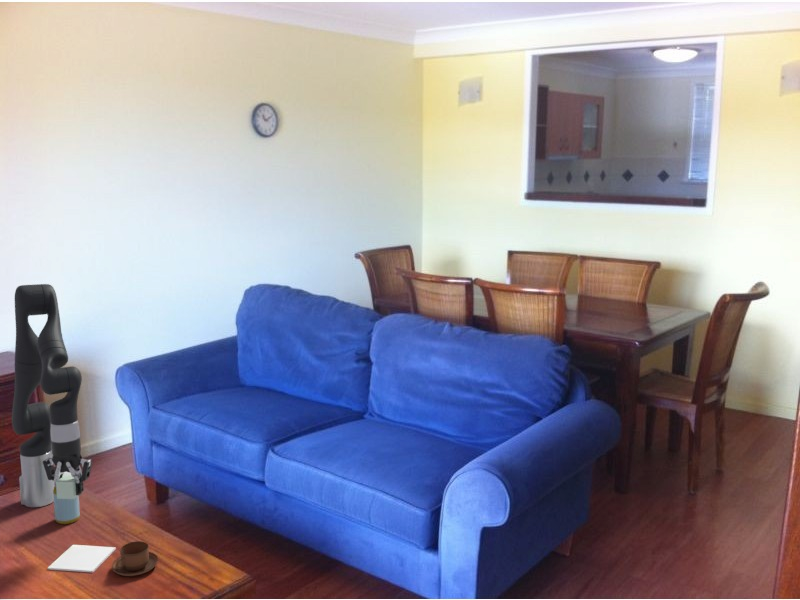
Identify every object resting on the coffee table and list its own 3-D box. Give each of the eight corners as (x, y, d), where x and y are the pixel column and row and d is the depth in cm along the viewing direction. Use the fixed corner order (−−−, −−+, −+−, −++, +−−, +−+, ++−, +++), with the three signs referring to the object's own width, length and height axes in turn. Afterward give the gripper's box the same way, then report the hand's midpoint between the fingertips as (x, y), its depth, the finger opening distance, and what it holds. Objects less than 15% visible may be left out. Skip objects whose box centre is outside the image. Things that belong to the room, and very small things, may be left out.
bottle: (73, 525, 232) (70, 479, 229) (51, 524, 232) (47, 478, 230) (83, 515, 239) (80, 470, 236) (61, 514, 239) (58, 469, 236)
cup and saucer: (143, 582, 201) (142, 561, 200) (103, 577, 203) (101, 556, 202) (166, 560, 212) (165, 539, 211) (127, 555, 215) (126, 535, 214)
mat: (47, 569, 207) (47, 567, 206) (73, 546, 219) (73, 544, 219) (92, 572, 205) (92, 570, 205) (115, 549, 218) (115, 547, 218)
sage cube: (57, 498, 214) (55, 481, 213) (66, 491, 219) (65, 475, 218) (73, 499, 214) (72, 482, 213) (82, 492, 219) (81, 475, 218)
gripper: (96, 433, 217) (100, 489, 219) (49, 431, 218) (53, 487, 221) (82, 442, 209) (87, 500, 212) (33, 440, 211) (38, 498, 213)
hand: (69, 493), depth 216 cm, fingers closed on sage cube, 5 cm apart
